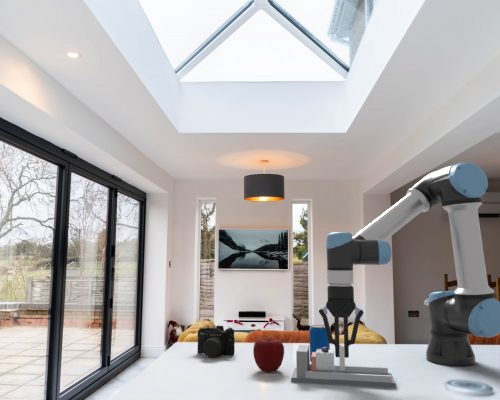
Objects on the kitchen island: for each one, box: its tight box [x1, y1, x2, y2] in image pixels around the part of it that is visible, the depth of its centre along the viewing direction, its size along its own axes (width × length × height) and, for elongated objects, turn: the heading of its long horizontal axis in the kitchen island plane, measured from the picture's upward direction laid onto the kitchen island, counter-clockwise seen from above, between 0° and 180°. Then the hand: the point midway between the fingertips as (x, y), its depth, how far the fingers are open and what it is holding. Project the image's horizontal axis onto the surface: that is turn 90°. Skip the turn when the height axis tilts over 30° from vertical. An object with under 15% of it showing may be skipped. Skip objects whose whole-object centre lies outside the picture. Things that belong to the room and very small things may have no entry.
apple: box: [252, 337, 285, 373], centre depth 134 cm, size 10×10×10 cm
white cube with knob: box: [316, 347, 335, 372], centre depth 126 cm, size 5×6×7 cm
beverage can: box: [309, 324, 331, 363], centre depth 144 cm, size 6×6×12 cm
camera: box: [197, 324, 236, 359], centre depth 155 cm, size 14×11×10 cm
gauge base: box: [290, 344, 397, 389], centre depth 125 cm, size 28×11×8 cm, turn 79°
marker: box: [310, 352, 316, 372], centre depth 126 cm, size 1×6×5 cm, turn 169°
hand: (342, 369), depth 125 cm, fingers closed
